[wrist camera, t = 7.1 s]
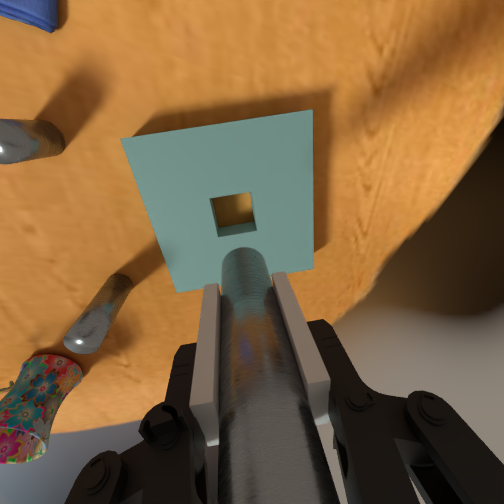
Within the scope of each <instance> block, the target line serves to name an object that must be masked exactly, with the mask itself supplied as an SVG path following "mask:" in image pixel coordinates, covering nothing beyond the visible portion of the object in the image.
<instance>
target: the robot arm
mask: <svg viewBox="0 0 504 504" xmlns="http://www.w3.org/2000/svg"><path fill="white" fill-rule="evenodd" d="M272 280H273V288H274V292H275V295H276V298H277V301H278V304H279V308H280V311H281V314H282V317H283V321H284V324H285V327H286V330H287V334H288V337H289V340H290V343H291V347H292V350H293V353H294V356H295V360H296V363H297V366H298V369H299V373H300V376H301V379H302V382H303V386H304V389H305V392H306V395H307V399H308V402H309V404H310V407H311V411H312V414H313V417H314V420H315V424H316V425H321V424H326V423H329V418H330V421H331V423H332V426H333V429H334V436H333V449H336V450H337V455H338V459H339V464H340V468H341V474H342V478H343V483H344V488H345V492H346V497H347V502H348V504H420V502H419V500H418V498H417V495H416V493H415V490H414V487H413V485H412V483H411V480H412V481H413V483H414V485H415V486H416V488H417V490H418V491H419V493H420V495H421V496H422V498H423V500H424V501H425V503H426V504H504V464H503V463H502V462H501V461H500V460H499V459H498V458H497V457H496V456H495V455H494V454H493V452H492V451H491V450H490V449H489V448H488V447H487V446H486V445H485V443H484V442H483V441H482V440H481V439H480V438H479V437H478V436H477V435H476V433H475V432H474V431H473V430H472V429H471V428H470V427H469V426H468V425H467V423H466V422H465V421H464V420H463V419H462V418H461V417H460V416H459V415H458V414H457V412H456V411H455V410H454V409H453V408H452V407H451V406H450V405H449V404H448V403H447V402H446V401H444V400H443V399H442V398H440V397H438V396H437V395H435V394H433V393H430V392H426V391H414V392H412V393H411V394H410V395H409V396H408V398H403V397H396V396H389V395H384V394H381V393H378V392H376V391H374V390H372V389H371V388H369V387H368V386H367V385H366V384H365V383H364V382H363V381H362V380H361V378H360V377H359V375H358V373H357V372H356V370H355V368H354V366H353V365H352V363H351V361H350V359H349V357H348V355H347V353H346V352H345V349H344V348H343V346H342V344H341V342H340V340H339V338H337V335H336V333H335V331H334V329H333V327H332V326H331V325H330V324H329V323H327V322H326V321H325V320H324V319H321V320H315V321H310V322H306V320H305V318H304V315H303V313H302V311H301V308H300V306H299V304H298V301H297V299H296V297H295V294H294V292H293V289H292V287H291V285H290V282H289V280H288V278H287V275H286V273H285V271H282V272H276V273H272ZM220 333H221V294H220V291H219V287H218V283H213V284H207V285H204V291H203V299H202V307H201V315H200V323H199V331H198V339H197V343H191V344H185V345H181V346H180V348H179V349H178V351H177V352H176V354H175V356H174V360H173V365H172V369H171V374H170V379H169V383H168V388H167V392H166V397H165V401H164V402H161V403H159V404H158V405H156V406H154V407H153V408H152V409H151V410H150V411H149V412H147V414H146V415H145V417H144V418H143V420H142V421H141V424H140V428H139V433H140V434H141V436H142V437H143V438H144V440H143V441H142V442H140V443H139V444H137V445H135V446H133V447H131V448H130V449H128V450H126V451H124V452H123V453H121V454H119V455H118V454H117V453H116V452H115V451H109V450H108V451H105V452H102V453H100V454H98V455H97V456H95V457H94V458H92V459H91V460H90V461H89V463H87V464H86V466H85V467H84V468H83V469H82V471H81V472H80V474H79V476H78V477H77V479H76V480H75V483H74V485H73V487H72V489H71V491H70V493H69V495H68V497H67V499H66V501H65V504H210V493H209V481H208V467H207V461H206V457H205V455H204V454H205V453H204V452H205V441H206V443H207V445H208V446H213V445H218V444H219V393H220ZM409 476H410V478H411V480H410V478H409Z"/></svg>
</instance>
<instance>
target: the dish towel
mask: <svg viewBox="0 0 504 504" xmlns="http://www.w3.org/2000/svg"><path fill="white" fill-rule="evenodd" d="M0 15H1V16H3V17H6V18H9V19H12V20H17V21H20V22H23V23H26V24H29V25H33V26H36V27H38V28H40V29H42V30H45V31H47V32H49V33H52V32H54V31H55V28H56V27H58V6H57V0H0Z"/></svg>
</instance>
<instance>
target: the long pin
mask: <svg viewBox="0 0 504 504" xmlns="http://www.w3.org/2000/svg"><path fill="white" fill-rule="evenodd" d="M218 504H340V501H339V498H338V495H337V492H336V488H335V485H334V482H333V479H332V475H331V472H330V469H329V466H328V462H327V459H326V456H325V453H324V449H323V446H322V443H321V440H320V437H319V433H318V430H317V427H316V424H315V420H314V417H313V414H312V411H311V407H310V404H309V402H308V399H307V395H306V392H305V389H304V386H303V382H302V379H301V376H300V373H299V369H298V366H297V363H296V360H295V356H294V353H293V350H292V347H291V343H290V340H289V337H288V334H287V330H286V327H285V324H284V321H283V317H282V314H281V311H280V308H279V304H278V301H277V298H276V295H275V292H274V288H273V285H272V281H271V278H270V275H269V272H268V268H267V265H266V262H265V259H264V257H263V255H262V254H261V253H260V252H259V251H257V250H255V249H253V248H249V247H240V248H236V249H234V250H232V251H230V252H229V253H228V254H227V255H226V256H225V257H224V259H223V262H222V273H221V333H220V393H219V455H218Z"/></svg>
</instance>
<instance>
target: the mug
mask: <svg viewBox="0 0 504 504" xmlns="http://www.w3.org/2000/svg"><path fill="white" fill-rule="evenodd" d="M82 377H83V373H82V370H81V368H80V367H79V366H78V365H77V364H76V363H75V362H73V361H72V360H70V359H68V358H65V357H62V356H58V355H50V354H45V355H37V356H34V357H31V358H29V359H28V360H26V361H25V362H24V363H23V364H22V366H21V369H20V374H19V376H18V378H17V380H16V382H15V384H14V383H13V381H10V382H9V385H10V387H8V388H3V389H0V393H4V392H8V391H9V392H8V393H7V394H6V395H5V397H4V398H3V399H2V400H1V401H0V463H2V464H15V463H23V462H28V461H32V460H34V459H37V458H39V457H40V456H42V455H43V454H44V453H45V452H46V450H47V448H48V443H49V436H50V431H51V427H52V424H53V421H54V418H55V415H56V413H57V411H58V409H59V407H60V405H61V403H62V402H63V400H64V399H65V397H66V396H67V395H68V393H69V392H70V391H71V390H72V389H73V388H74V387H76V386H77V385H78V384H79V383H80V382H81V380H82Z"/></svg>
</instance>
